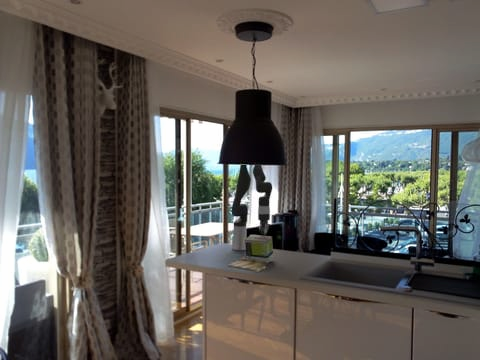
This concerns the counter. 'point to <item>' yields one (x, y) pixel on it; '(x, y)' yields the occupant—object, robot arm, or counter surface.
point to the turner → (262, 268)
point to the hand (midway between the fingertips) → (263, 239)
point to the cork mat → (248, 264)
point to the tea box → (259, 248)
